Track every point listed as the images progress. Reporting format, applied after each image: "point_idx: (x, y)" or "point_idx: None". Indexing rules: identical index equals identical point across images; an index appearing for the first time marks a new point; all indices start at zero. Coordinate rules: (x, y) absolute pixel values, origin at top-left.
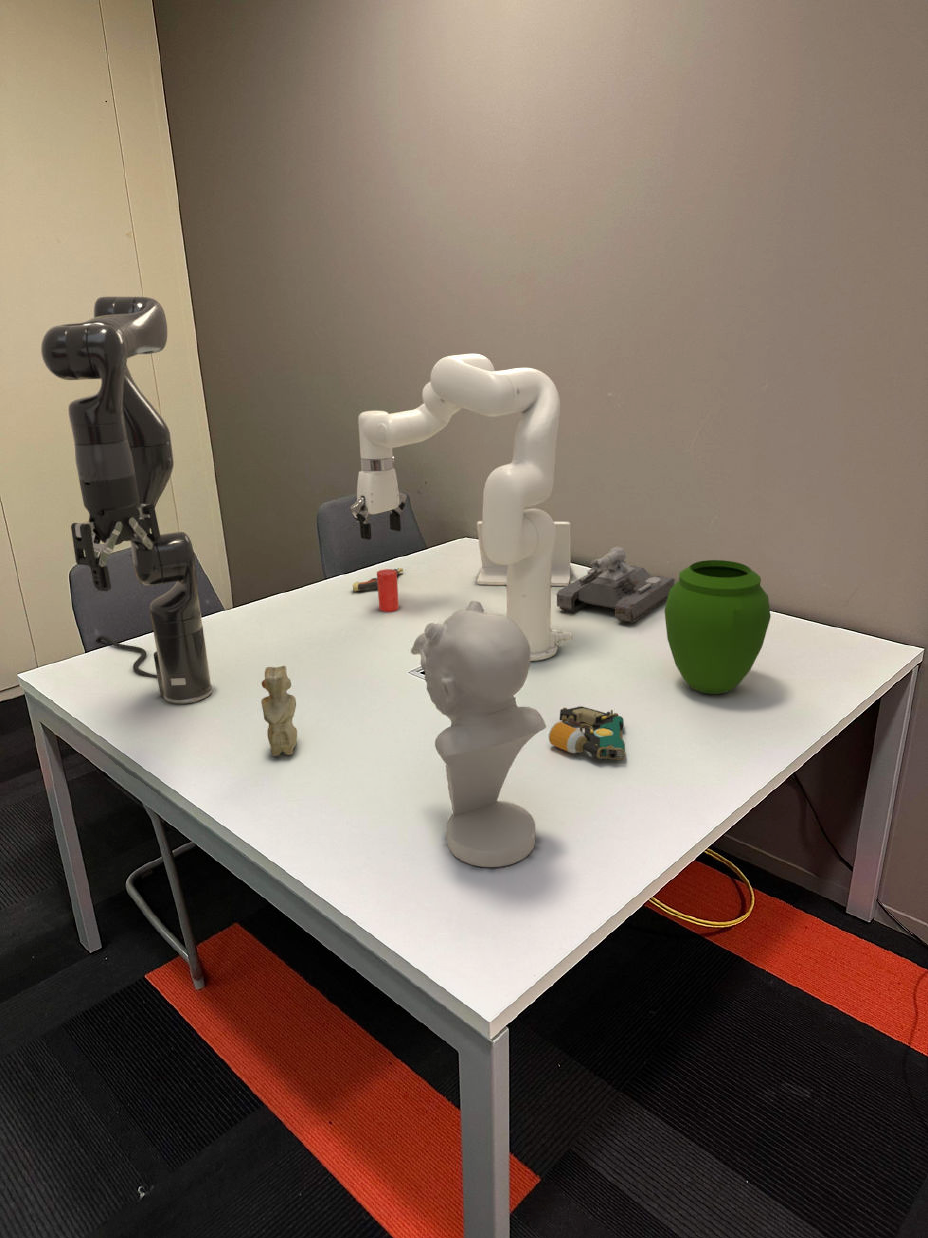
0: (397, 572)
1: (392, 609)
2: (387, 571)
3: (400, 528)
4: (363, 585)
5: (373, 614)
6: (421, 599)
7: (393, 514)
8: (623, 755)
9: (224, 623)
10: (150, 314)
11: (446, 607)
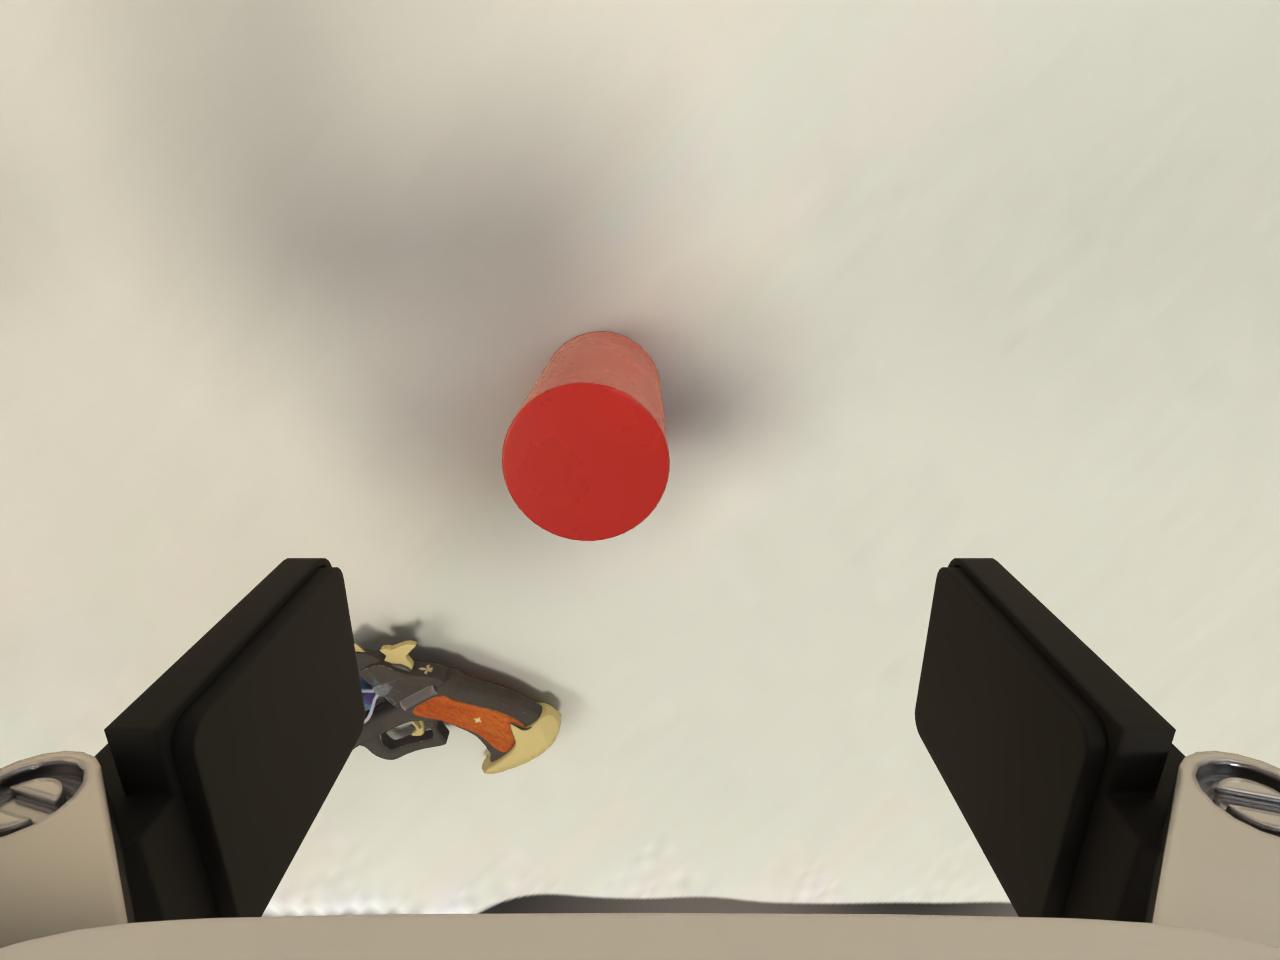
0: None
1: (623, 336)
2: (568, 473)
3: (279, 571)
4: (512, 703)
5: (728, 387)
6: (360, 352)
7: (195, 877)
8: None
9: None
10: None
11: (336, 98)
